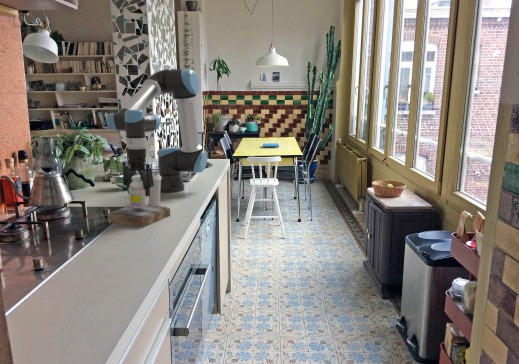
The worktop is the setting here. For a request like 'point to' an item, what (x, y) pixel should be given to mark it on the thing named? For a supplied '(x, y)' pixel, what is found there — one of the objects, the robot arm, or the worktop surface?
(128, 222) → the plinth
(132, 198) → the supplement bottle
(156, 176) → the coffee cup
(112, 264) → the worktop surface
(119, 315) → the worktop surface
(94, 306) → the worktop surface
